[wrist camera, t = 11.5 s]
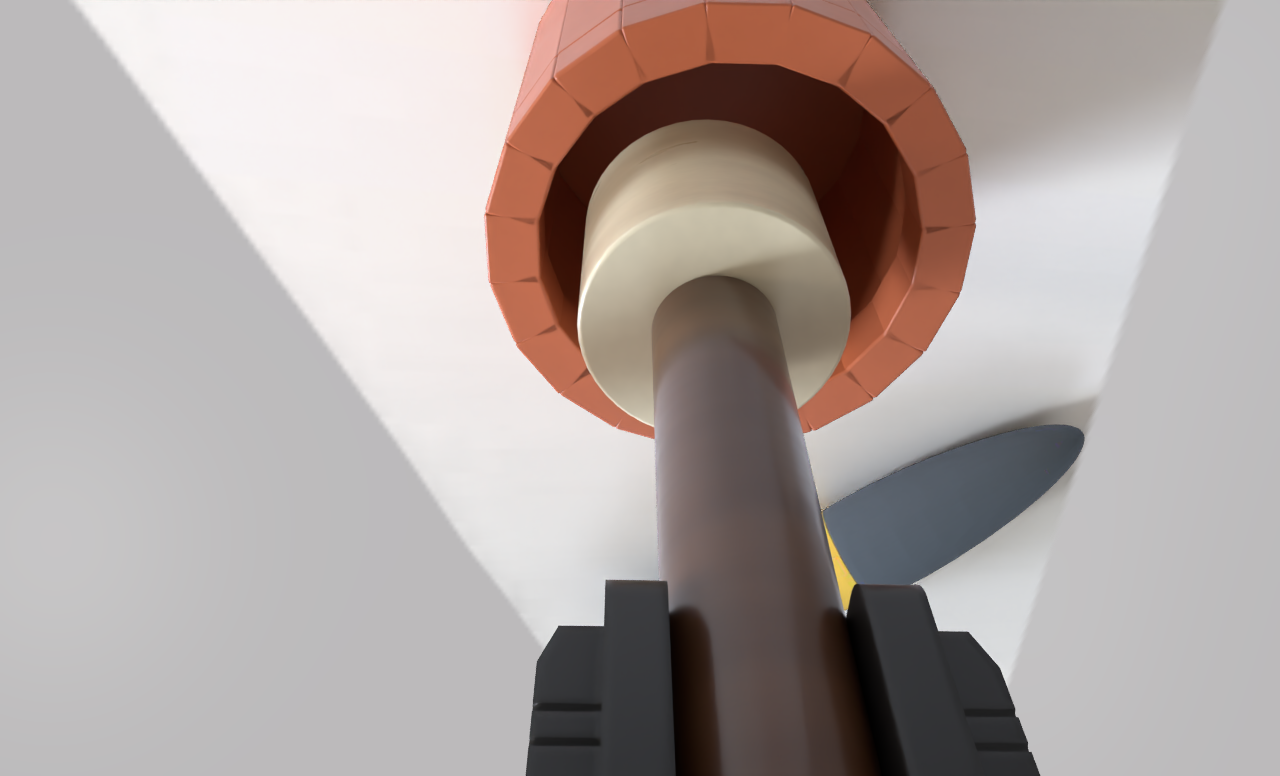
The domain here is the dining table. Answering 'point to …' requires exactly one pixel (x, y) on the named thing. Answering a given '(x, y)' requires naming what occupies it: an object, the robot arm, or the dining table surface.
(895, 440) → the dining table surface
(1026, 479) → the paintbrush
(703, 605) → the brown rod with cap
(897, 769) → the robot arm
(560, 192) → the jar
